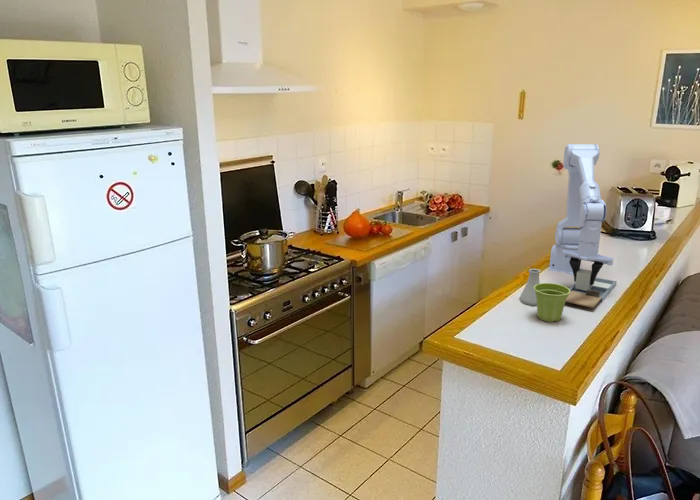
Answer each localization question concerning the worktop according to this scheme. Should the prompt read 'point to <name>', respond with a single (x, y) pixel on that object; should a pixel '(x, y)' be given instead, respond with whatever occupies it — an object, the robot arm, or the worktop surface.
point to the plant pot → (550, 300)
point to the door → (584, 298)
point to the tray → (599, 287)
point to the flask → (530, 288)
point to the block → (583, 279)
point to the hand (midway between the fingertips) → (584, 282)
